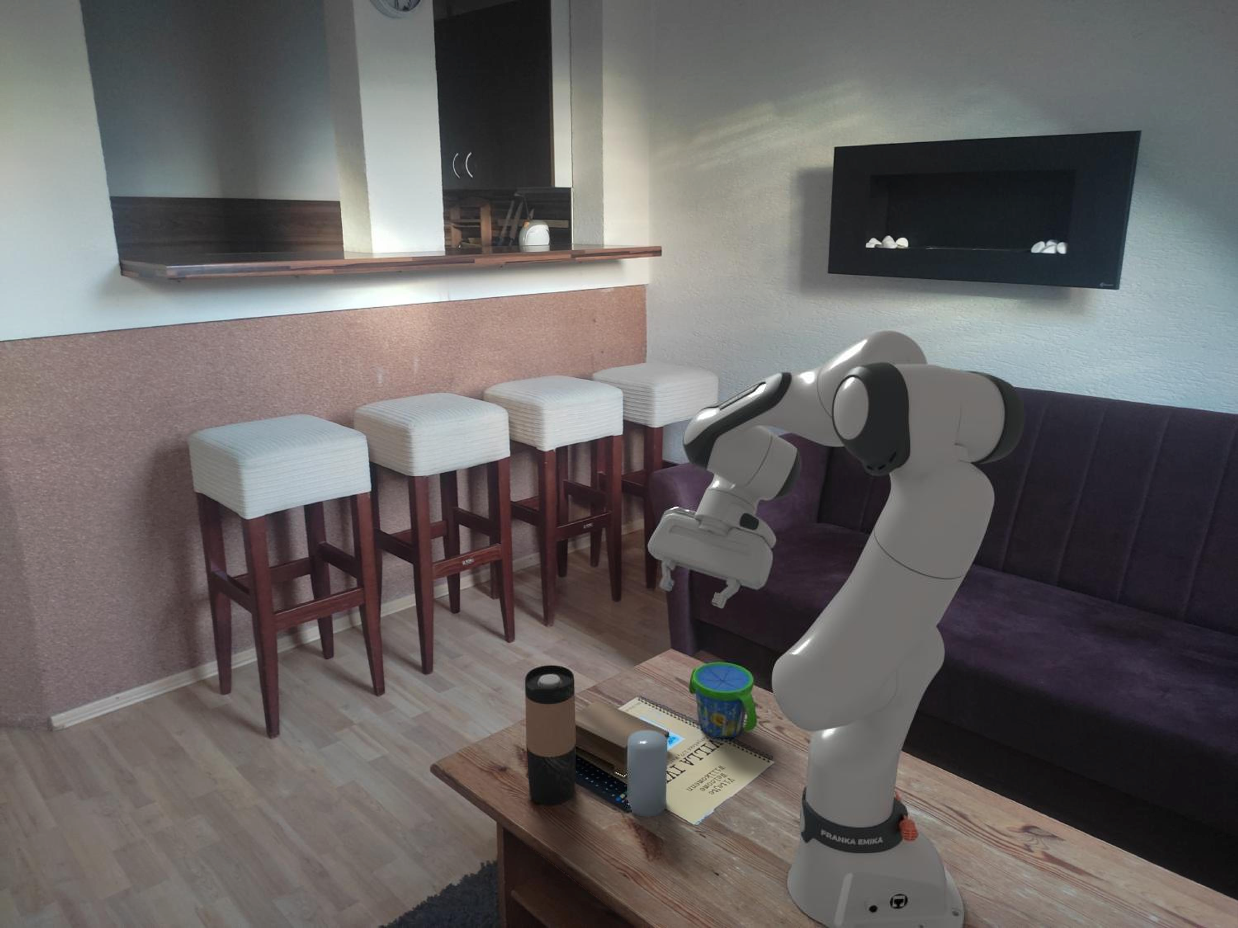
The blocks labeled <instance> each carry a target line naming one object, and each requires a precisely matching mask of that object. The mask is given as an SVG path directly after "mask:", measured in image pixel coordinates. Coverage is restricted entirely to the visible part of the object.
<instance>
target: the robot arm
mask: <svg viewBox="0 0 1238 928" xmlns="http://www.w3.org/2000/svg"><path fill="white" fill-rule="evenodd" d="M1025 413H1026V411H1025V407H1024V402H1023V400H1022V397H1021V394H1020V393H1019V391H1018V389H1016V388H1015V387H1014V386H1013V385H1012V384H1011V383H1009V382H1008V381H1006V380H1005V379H1002V378H1001V377H997V376H995V375H992V374H989V373H986V372H982V371H975V370H974V371H973V370H962V369H955V368H950V367H942V366H940V365H938V364H928V361H927V358H926V355H925V352H924V351H923V350H922V348H921V347H920V345H918V343H917V342H916V341H915V340H913V339H912V338H911V337H909V336H908V335H906V334H904V333H901V332H899V331H894V330H881V331H876V332H874V333H871V334H869V335H867V336H865V337H862V338H861V339H859V340H857V341H855V342H853V343H852V344H850V345H848V346H847V347H845V348H844V349H842V350H841V351H839V352H838V353H836V354H835V355H834V356H832V357H831V358H830V359H829V360H828V361H826V362H825V363H824V364H821V365H819V366H817V367H813V368H810V369H804V370H801V371H800V370H799V371H792V372H790V371H784V372H774V373H773V374H769V375H768V376H766V377H764V378H762V379H760V380H759V381H757V382H755V383H753V384H751V385H749V386H747V387H746V388H744V389H743V390H740V391H739V392H737V393H735V394H733V395H732V396H730V397H728V398H727V399H724V400H723V401H721V402H718V403H713V404H710V405H708V406H706V407H703V408H701V410H699V411H698V412H697V413H696V414H695V415H694V417H693V418H691V420H690V422H689V424H688V425H687V427H686V429H685V432H684V435H683V438H682V447H683V450H684V453H685V455H686V458H687V459H688V462H689V463H690V465H693V466H695V467H697V468H699V469H702V470H703V471H704V470H705V471H708V472H710V473H712V474H713V478H712V481H711V483H710V484H709V486H708V487H707V488H706V489H705V491H704V494H703V497H702V498H701V500H700V503H699V505H698V507H697V509H696V511H695V510H691V509H685V508H683V507H680V506H674V507H673V508H669V509H667V510H665V511H664V513H663V514H662V516H661V519H660V520H659V521H660V522H659V523H658V525H657V527H656V529H655V530H654V532H652V535H651V537H650V539H649V541H648V543H647V549H648V552H649V553H650V554H651V556H652V557H653V558H655V559H656V560H660V561H662V562H661V564H660V565H661V573H662V574H661V575H662V578H661V580H660V582H659V587H660V588H661V590H665V591H668V592H671V591H672V589H673V587H674V584H675V583H676V582H675V580H673V579H672V576H671V571H674V570H675V568H676V567H677V566H679V567H682V568H685V569H688V570H692V571H694V572H698V573H701V574H705V575H707V576H711V577H714V578H717V579H721V580H723V581H726V582H725V584H726V585H727V586H726V587H725V588H724V589H723V590H722V591H721V592H714V594H713V598H712V599H711V605H713V606H714V607H717V608H720V609H724V608H725V605H726V603H727V600H728V599H729V598H731V597H732V596H733V595H735V594H736V593H737V592H738V591H739V589H740V587H741V586H743V587H747V588H750V589H752V590H756V591H757V590H759V589H762V587H763V588H764V586H765V584H766V583H767V581H768V578H769V575H770V572H771V568H772V566H773V559H774V558H773V557H774V555H773V554H774V553H773V551H772V550H771V549H773V548H774V547H775V545H776V542H777V538H776V537H777V536H776V535H775V533H774V532H773V530H772V529H771V527H770V526H769V525H768V524H767V522H766V521H764V520H763V519H762V518H760V517H758V516H756V514H757V510H758V509H757V508H758V504H759V502H760V501H761V500H763V501H765V502H769V501H774V500H775V501H776V500H779V499H783V498H785V497H787V496H789V495H791V493H792V491H793V490H794V488H795V486H796V484H797V481H798V479H799V477H800V474H801V472H802V469H803V464H802V462H803V461H802V457H801V454H800V451H799V449H798V448H797V447H795V446H794V444H792V443H791V442H788V441H787V440H786V439H783V438H782V437H780V436H778V435H777V434H776V432H774V431H773V430H771V429H770V428H768V427H773V428H777V429H780V430H782V431H786V432H789V433H792V434H794V435H796V436H799V437H802V438H804V439H806V440H809V441H812V442H814V443H817V444H820V445H822V446H825V447H827V446H828V447H836V448H837V447H845V449H846V450H847V451H848V453H850V455H852V456H853V457H855V458H856V459H858V461H860V462H861V464H862V467H863V469H864V470H865V472H866V473H868V474H870V475H872V476H875V477H882V476H883V477H884V476H886V475H888V474H889V478H890V492H889V495H888V497H887V500H886V503H885V505H884V507H883V509H882V511H881V513H880V515H879V517H878V519H877V520H876V523H875V525H874V527H873V529H872V531H871V533H870V535H869V537H868V540H867V541H866V544H865V546H864V548H863V549H862V552H861V554H860V556H859V558H858V560H857V562H856V564H855V566H854V568H853V570H852V572H851V573H850V575H849V577H848V579H846V581H845V583H844V584H843V586H842V587H841V588H840V590H838V592H837V593H836V594H835V595H834V597H833V598H832V600H830V602H829V604H828V605H827V606H826V607H825V608H824V610H823V611H822V612H821V613H820V615H819V616H818V617H817V618H816V620H815V621H814V622H813V623H812V625H811V626H810V627H809V628H808V630H807V631H806V632H805V633H804V634H803V635H802V637H801V638H800V639H799V640H798V641H797V642H796V643H794V645H792V646H791V647H790V648H789V649H788V650H787V651H786V652H785V653H783V654H781V656H779V658H778V659H777V660H776V662H775V664H774V667H773V669H772V674H771V687H772V692H773V697H774V699H775V702H776V704H777V707H778V708H779V710H780V711H781V712H782V714H783V715H784V716H785V718H787V720H788V721H790V722H791V723H792V724H793V725H795V727H798V728H799V729H801V730H803V731H806V732H813V733H812V736H811V738H810V741H809V745H808V754H807V755H808V756H807V757H808V758H807V771H806V782H805V783H806V785H805V786H804V789H803V791H802V797H801V802H800V809H799V832H800V837H799V842H798V848H797V849H796V850H797V851H796V855H795V856H794V860H793V863H792V865H791V868H790V869H789V871H788V874H787V879H786V883H787V890H788V893H789V895H790V897H791V898H792V900H793V902H794V903H795V905H796V906H797V907H798V908H799V909H800V910H801V911H802V912H804V914H806V915H807V916H808V917H810V918H812V919H813V920H815V921H816V922H819V923H820V924H822V925H824V926H826V927H828V928H963V927H964V920H965V911H964V909H965V908H964V905H963V904H964V903H963V900H962V896H961V893H960V891H959V888H958V886H957V883H956V882H955V879H954V878H953V876H952V874H951V873H950V872H949V870H948V869H947V868H946V867H945V865H944V864H943V861H942V858H941V856H940V854H939V852H938V850H937V848H936V846H935V845H934V843H933V842H932V840H931V839H930V838H929V837H928V836H927V835H926V834H925V833H924V832H922V831H920V830H918V829H917V827H916V823H915V822H914V820H911V819H908V818H909V812H908V809H907V807H906V805H905V804H904V803H903V802H902V800H901V796H900V795H899V793H898V792H897V791H896V784H897V776H898V768H899V761H900V758H901V757H900V756H901V753H902V750H903V747H904V743H905V741H906V738H907V735H908V733H909V729H910V728H911V726H912V725H911V724H912V722H913V720H914V718H915V715H916V712H917V711H918V708H919V705H920V702H921V700H922V698H923V696H924V694H925V692H926V690H927V688H928V687H929V684H930V683H931V682H932V680H933V679H934V677H935V676H936V675H937V673H938V672H939V670H941V668H942V666H943V663H944V660H945V654H946V653H945V643H944V641H943V638H942V635H941V632H940V630H939V629H938V627H937V625H938V624H939V623H940V621H941V620H942V618H943V616H944V614H945V612H946V611H947V609H948V607H949V605H950V603H952V600H953V598H954V596H955V595H956V593H957V591H958V590H959V587H960V585H961V584H962V582H963V580H964V578H965V577H966V575H967V573H968V571H969V569H970V567H971V565H972V564H973V562H974V560H975V558H976V556H977V554H978V552H979V549H980V547H981V545H982V542H983V540H984V537H985V534H986V532H987V528H988V525H989V523H990V519H991V516H992V512H993V508H994V505H995V504H994V503H995V492H994V487H993V485H992V483H991V481H990V479H989V478H988V476H987V475H986V474H985V473H984V472H983V471H982V470H981V469H980V468H978V467H977V465H983V464H987V463H988V464H989V463H992V462H996V461H998V460H1001V459H1003V458H1005V457H1007V456H1009V455H1010V454H1011V453H1012V452H1013V451H1014V449H1015V448H1016V447H1017V445H1018V443H1019V442H1020V441H1021V438H1022V435H1023V432H1024V428H1025V422H1026V419H1025V418H1026V414H1025ZM975 465H976V466H975Z"/></svg>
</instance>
